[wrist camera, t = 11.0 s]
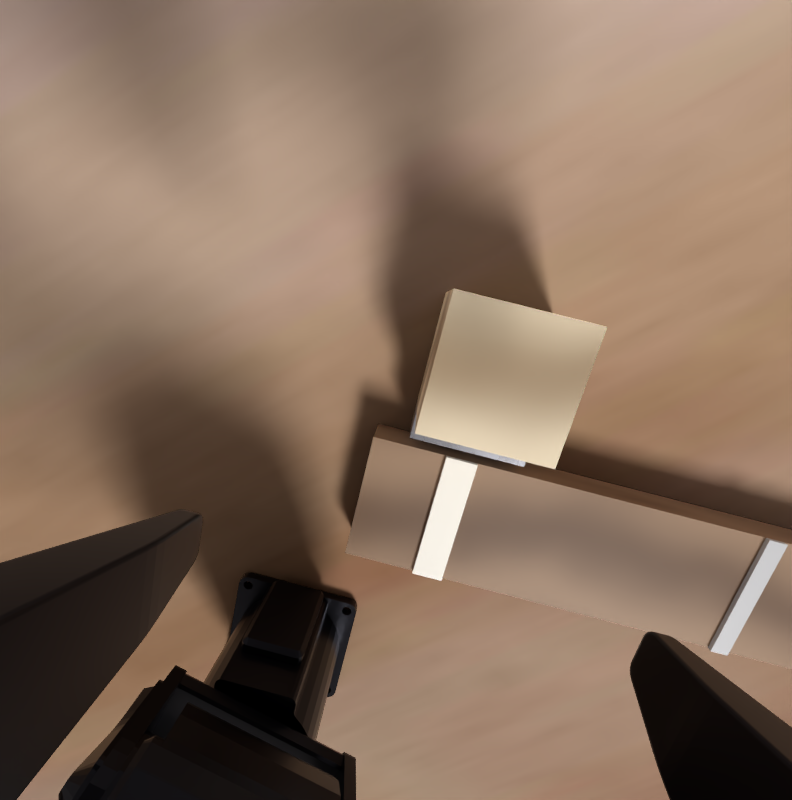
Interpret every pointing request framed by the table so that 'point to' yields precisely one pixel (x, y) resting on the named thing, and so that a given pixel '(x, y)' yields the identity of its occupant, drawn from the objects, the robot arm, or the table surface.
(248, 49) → the table surface
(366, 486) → the walnut plank
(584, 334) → the cream cube
